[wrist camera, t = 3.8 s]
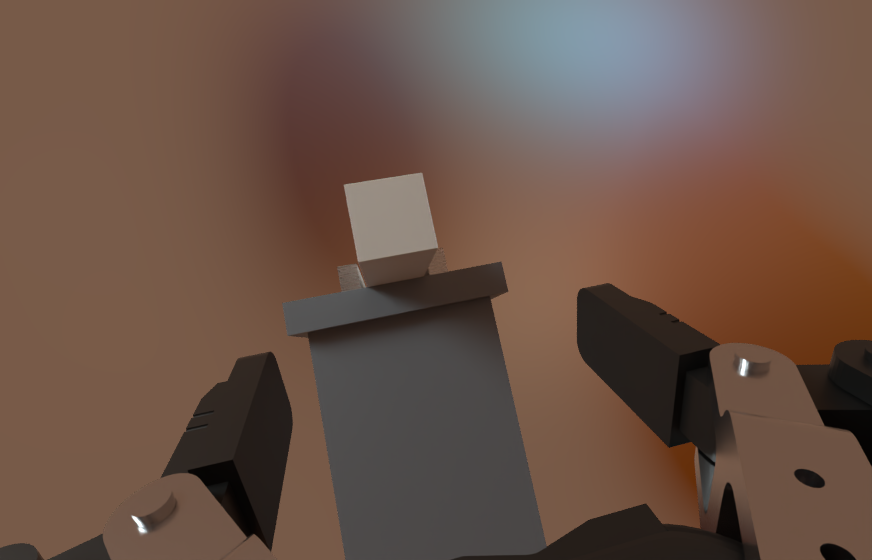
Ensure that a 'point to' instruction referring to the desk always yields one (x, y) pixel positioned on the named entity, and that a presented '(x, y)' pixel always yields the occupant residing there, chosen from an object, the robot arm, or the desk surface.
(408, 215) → the tall white box
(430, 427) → the grey pedestal
